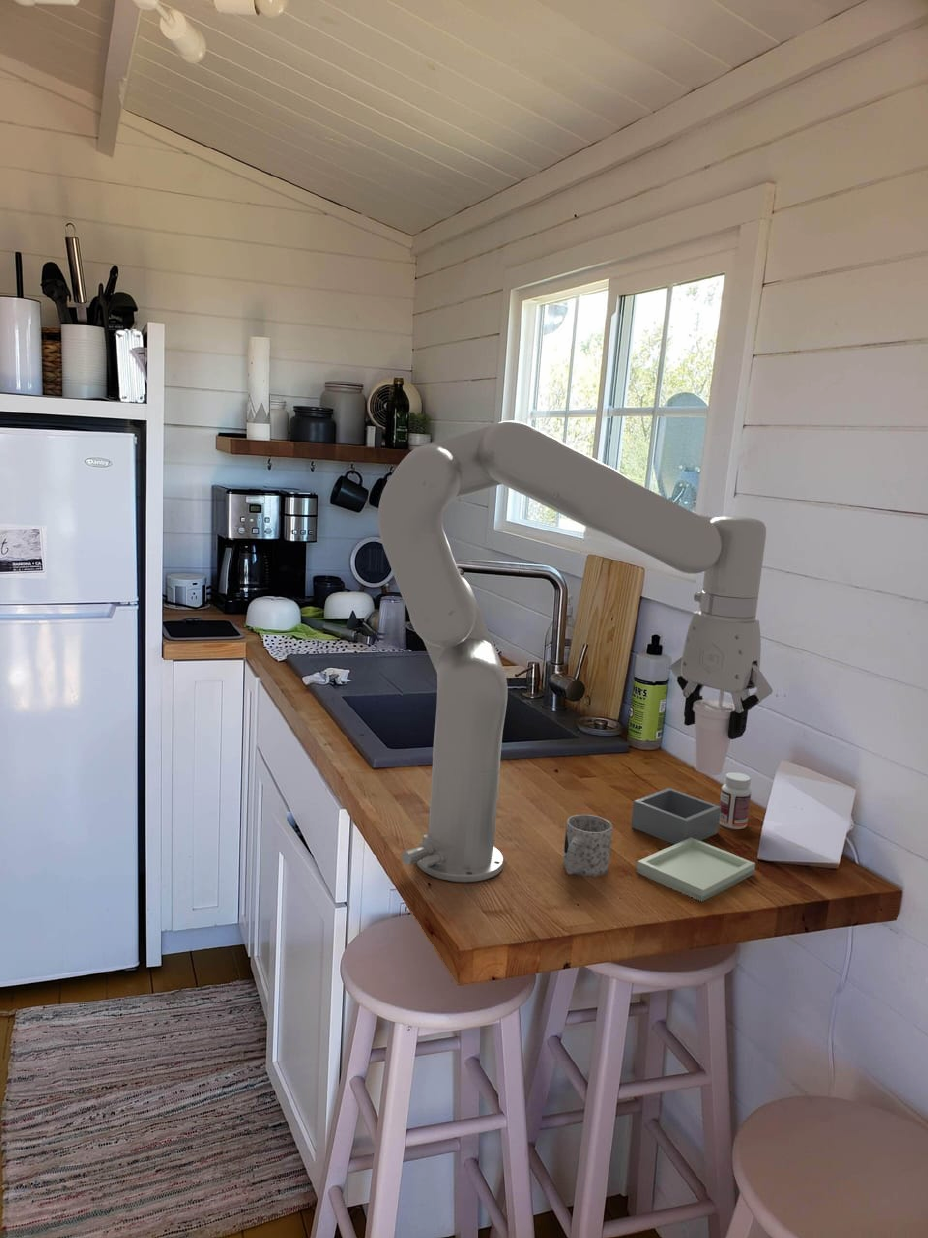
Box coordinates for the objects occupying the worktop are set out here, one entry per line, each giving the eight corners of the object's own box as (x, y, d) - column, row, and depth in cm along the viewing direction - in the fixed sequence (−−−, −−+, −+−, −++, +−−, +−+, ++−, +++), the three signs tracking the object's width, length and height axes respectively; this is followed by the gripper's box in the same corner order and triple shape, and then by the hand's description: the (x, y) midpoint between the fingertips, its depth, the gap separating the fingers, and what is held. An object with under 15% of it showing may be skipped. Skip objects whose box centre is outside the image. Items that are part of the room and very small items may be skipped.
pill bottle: (749, 822, 161) (755, 775, 160) (744, 832, 157) (750, 783, 155) (720, 815, 163) (726, 769, 162) (715, 825, 159) (721, 777, 157)
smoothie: (720, 781, 133) (733, 684, 130) (678, 769, 137) (689, 674, 134) (738, 770, 138) (750, 676, 136) (696, 759, 142) (707, 667, 139)
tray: (701, 902, 132) (703, 890, 132) (636, 872, 140) (637, 861, 139) (753, 874, 142) (755, 863, 141) (689, 848, 149) (691, 837, 149)
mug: (573, 852, 145) (577, 811, 144) (615, 864, 142) (619, 822, 141) (545, 876, 137) (549, 832, 135) (588, 890, 134) (592, 845, 132)
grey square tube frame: (683, 848, 149) (686, 821, 148) (631, 826, 156) (633, 800, 155) (717, 833, 156) (721, 807, 155) (666, 812, 163) (669, 787, 162)
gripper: (660, 597, 136) (647, 719, 140) (772, 620, 124) (754, 752, 128) (689, 594, 141) (676, 711, 145) (799, 615, 129) (782, 742, 133)
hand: (713, 729), depth 136 cm, fingers closed on smoothie, 6 cm apart
